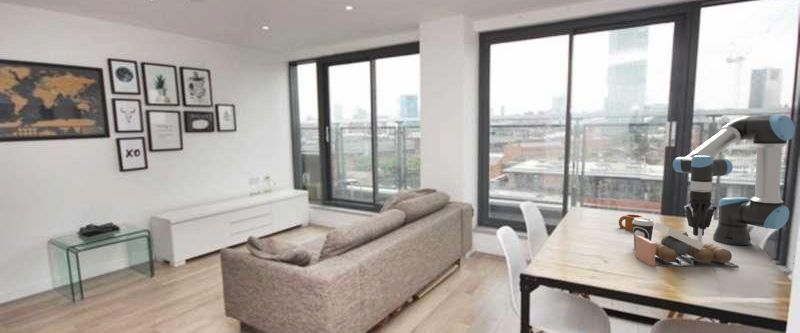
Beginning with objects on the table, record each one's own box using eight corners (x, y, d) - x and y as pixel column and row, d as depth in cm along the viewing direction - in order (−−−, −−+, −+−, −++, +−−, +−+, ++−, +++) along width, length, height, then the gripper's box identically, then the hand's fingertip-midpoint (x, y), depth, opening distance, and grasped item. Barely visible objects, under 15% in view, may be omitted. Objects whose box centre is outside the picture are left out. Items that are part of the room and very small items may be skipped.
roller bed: (715, 256, 183) (715, 253, 183) (738, 267, 169) (738, 263, 169) (638, 255, 186) (638, 252, 186) (655, 266, 172) (655, 262, 172)
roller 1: (649, 254, 184) (651, 241, 183) (662, 255, 183) (664, 243, 183) (661, 261, 174) (664, 248, 173) (676, 263, 173) (678, 249, 173)
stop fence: (639, 256, 186) (640, 235, 185) (654, 265, 173) (655, 243, 172) (634, 256, 186) (635, 235, 185) (650, 265, 173) (651, 243, 172)
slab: (685, 243, 182) (688, 237, 182) (700, 249, 172) (703, 243, 172) (653, 228, 182) (657, 222, 182) (666, 234, 172) (670, 228, 172)
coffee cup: (656, 252, 191) (658, 222, 189) (635, 251, 193) (636, 221, 191) (648, 246, 200) (649, 217, 199) (628, 245, 202) (629, 217, 201)
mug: (620, 227, 239) (621, 212, 238) (643, 230, 231) (644, 215, 230) (617, 230, 232) (617, 215, 231) (640, 233, 224) (641, 218, 223)
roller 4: (701, 255, 182) (701, 243, 181) (715, 255, 181) (715, 242, 181) (716, 263, 172) (717, 249, 171) (731, 263, 171) (732, 249, 171)
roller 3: (683, 255, 182) (684, 242, 182) (697, 255, 182) (698, 243, 181) (698, 262, 173) (699, 249, 172) (712, 263, 172) (714, 249, 172)
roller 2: (675, 246, 182) (662, 249, 183) (673, 234, 182) (659, 237, 183) (690, 253, 173) (676, 256, 173) (687, 240, 172) (673, 243, 173)
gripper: (710, 189, 178) (707, 240, 180) (679, 189, 179) (677, 240, 181) (722, 191, 170) (719, 245, 172) (690, 192, 171) (688, 245, 173)
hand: (697, 242), depth 176 cm, fingers closed
